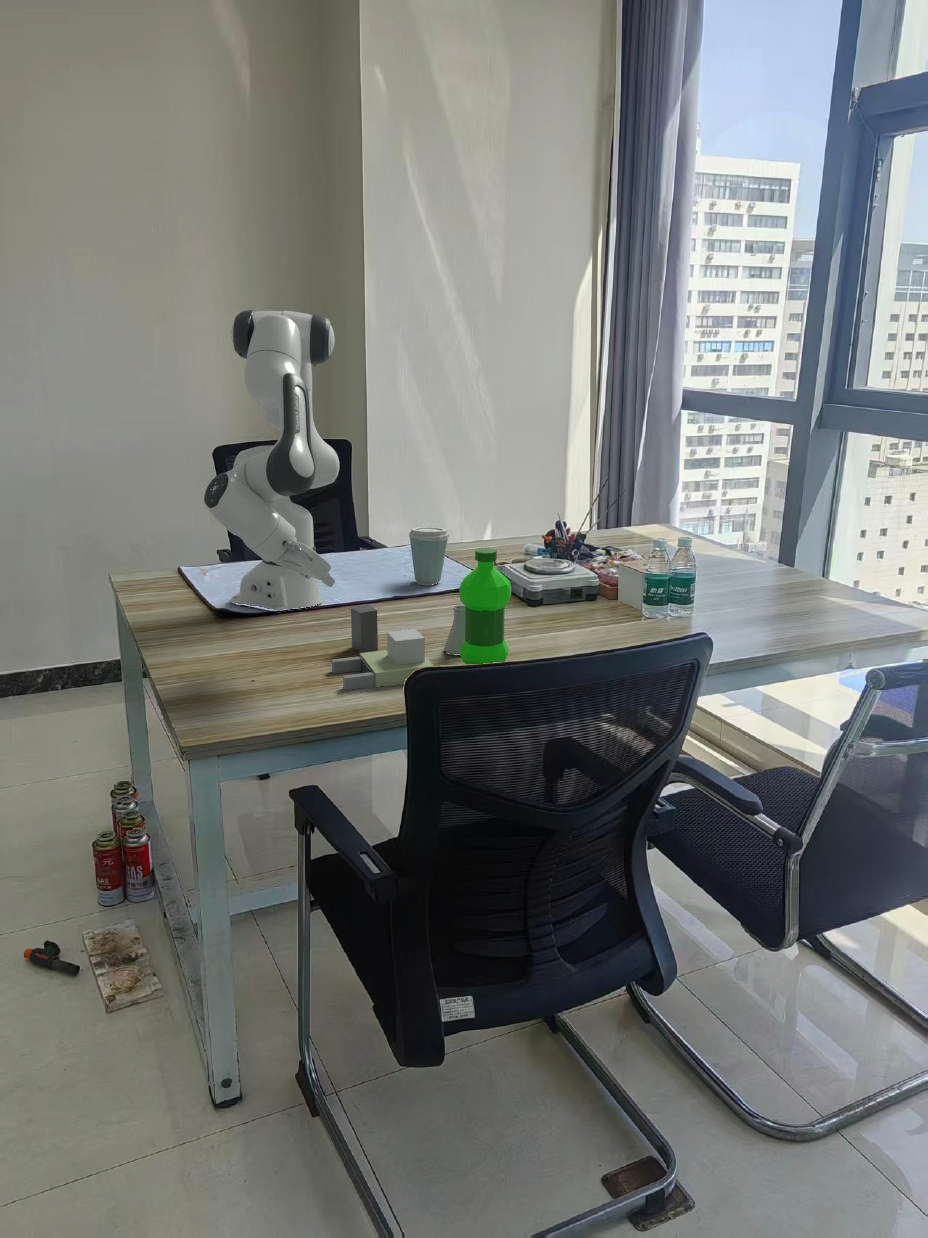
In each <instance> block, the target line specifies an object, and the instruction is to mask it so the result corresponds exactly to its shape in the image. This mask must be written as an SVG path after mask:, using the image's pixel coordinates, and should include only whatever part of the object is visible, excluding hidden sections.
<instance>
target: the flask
mask: <svg viewBox="0 0 928 1238" xmlns="http://www.w3.org/2000/svg"><path fill="white" fill-rule="evenodd" d="M452 610H453V620H452V625H451V628H450V630H449V634H448V636H447V639H446V642H445V643H444V644H445V645H444V647H443V650H444V651H446V652H447V653H449V654H460V650H461V648H462V645H463V643H464V641H465V614H466V606H465V605H464V604H456V605H455V604H454V605H453V606H452ZM446 652H445V653H446ZM447 653H446V654H447Z"/></svg>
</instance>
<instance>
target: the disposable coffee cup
mask: <svg viewBox="0 0 928 1238" xmlns="http://www.w3.org/2000/svg"><path fill="white" fill-rule="evenodd" d="M408 537H409V542H410V549H411V556H412V557H411V560H412V566H413V574H414V580H415V582H417V583H416V584H417V585H420V584H421V586H427V585H430V586H433V585H432V584H436V583H438V582H439V581H440V582H441V580H442V579H441V578H442V574H443V568H444V562H445V557H446V556H445V555H446V552H447V546H448V542H449V541H448V539H449V538H450V533H449V532H448V529H446V528H445V527H444V528H443V527H437V526H436V527H435V526H419V527H413V528H412V529H411V531H410V532H409V533H408ZM440 582H439V583H440Z"/></svg>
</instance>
